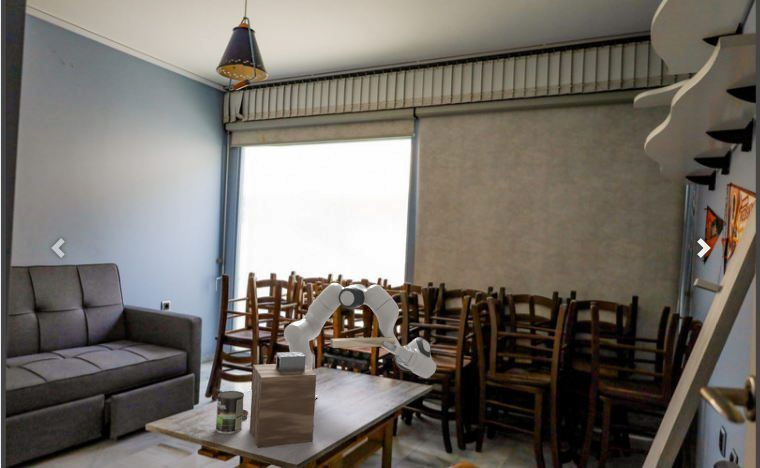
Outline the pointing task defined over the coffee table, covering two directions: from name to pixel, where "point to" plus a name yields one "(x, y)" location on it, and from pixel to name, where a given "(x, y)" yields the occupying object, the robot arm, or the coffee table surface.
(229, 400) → the coffee can
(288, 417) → the brown tall wooden box
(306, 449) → the coffee table surface
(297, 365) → the metal tunnel
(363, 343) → the beech bar
